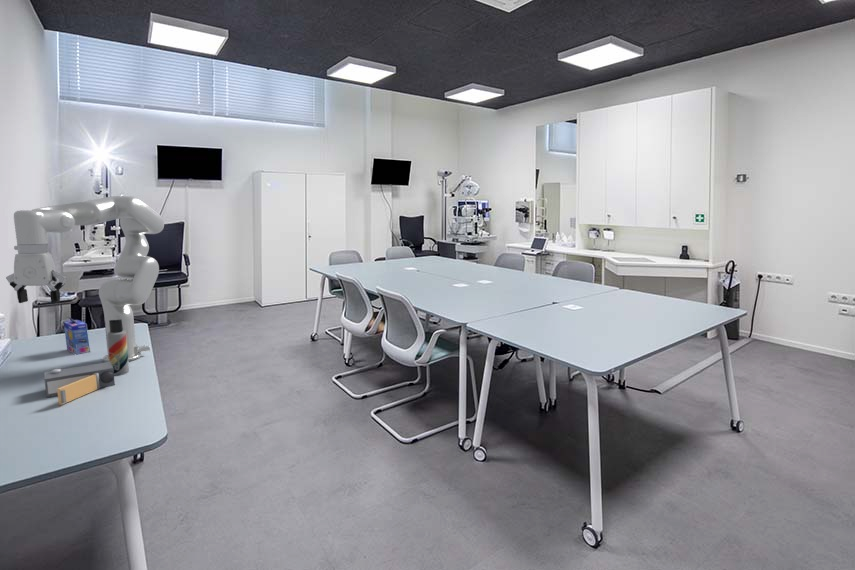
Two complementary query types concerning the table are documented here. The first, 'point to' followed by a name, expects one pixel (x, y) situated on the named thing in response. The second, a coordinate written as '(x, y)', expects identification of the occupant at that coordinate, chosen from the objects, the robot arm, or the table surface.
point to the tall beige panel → (78, 388)
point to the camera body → (77, 376)
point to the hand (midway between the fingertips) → (39, 302)
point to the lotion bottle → (118, 347)
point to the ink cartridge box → (76, 336)
